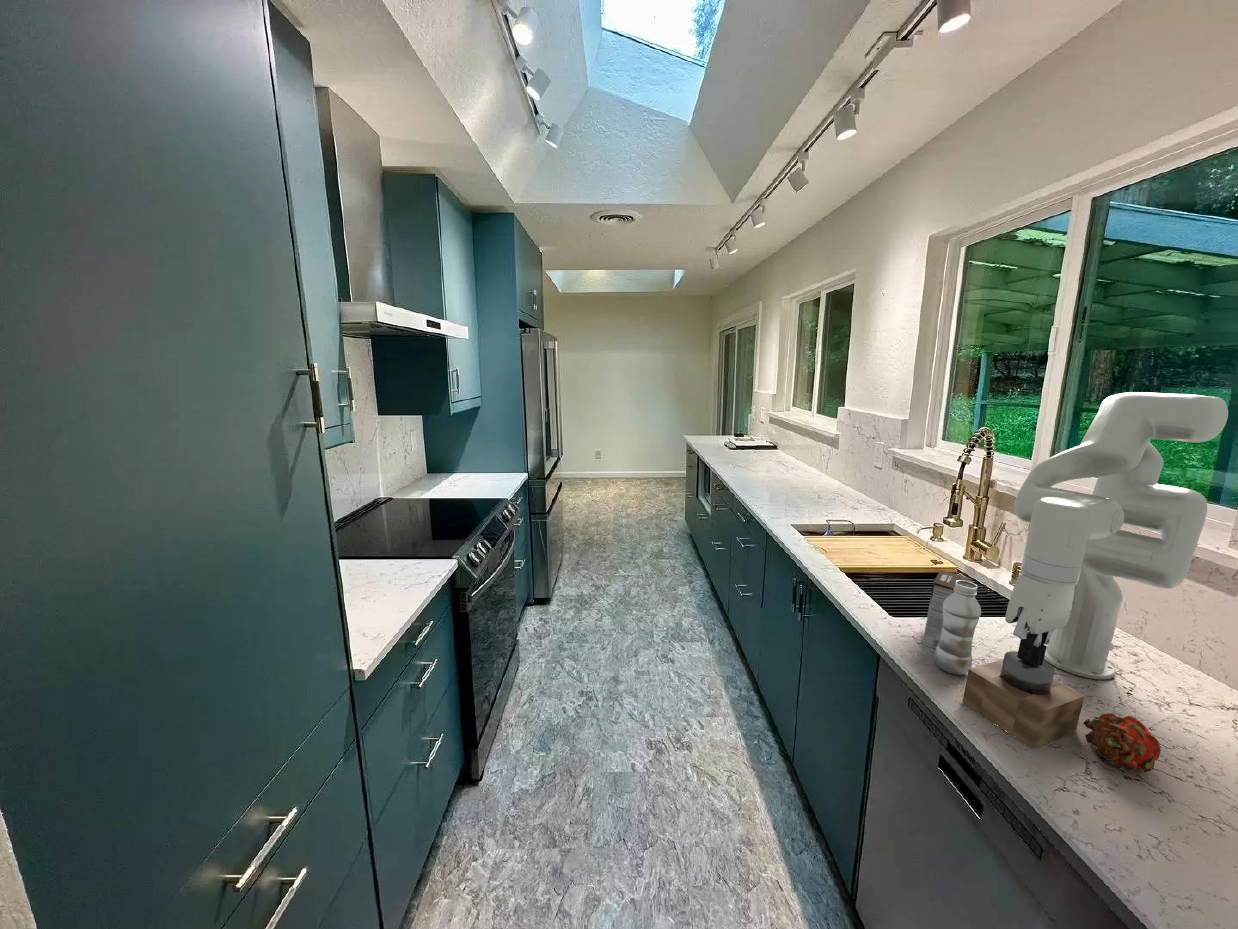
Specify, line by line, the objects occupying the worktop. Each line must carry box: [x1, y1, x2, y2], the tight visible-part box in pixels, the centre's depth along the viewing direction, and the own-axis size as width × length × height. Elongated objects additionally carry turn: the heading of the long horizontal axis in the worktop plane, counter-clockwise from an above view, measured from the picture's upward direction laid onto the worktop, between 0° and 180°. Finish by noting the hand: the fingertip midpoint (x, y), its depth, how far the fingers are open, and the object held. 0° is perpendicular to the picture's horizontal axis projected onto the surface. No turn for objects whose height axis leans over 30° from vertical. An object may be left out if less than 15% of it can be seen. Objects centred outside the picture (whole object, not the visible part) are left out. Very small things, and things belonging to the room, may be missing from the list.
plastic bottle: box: [933, 580, 982, 676], centre depth 100 cm, size 6×7×20 cm
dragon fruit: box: [1082, 712, 1162, 773], centre depth 78 cm, size 8×8×12 cm
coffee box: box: [922, 570, 973, 650], centre depth 110 cm, size 9×6×16 cm
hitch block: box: [961, 658, 1085, 750], centre depth 88 cm, size 12×12×7 cm
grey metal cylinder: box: [1001, 650, 1056, 695], centre depth 87 cm, size 7×7×11 cm
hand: (1029, 661), depth 86 cm, fingers closed
